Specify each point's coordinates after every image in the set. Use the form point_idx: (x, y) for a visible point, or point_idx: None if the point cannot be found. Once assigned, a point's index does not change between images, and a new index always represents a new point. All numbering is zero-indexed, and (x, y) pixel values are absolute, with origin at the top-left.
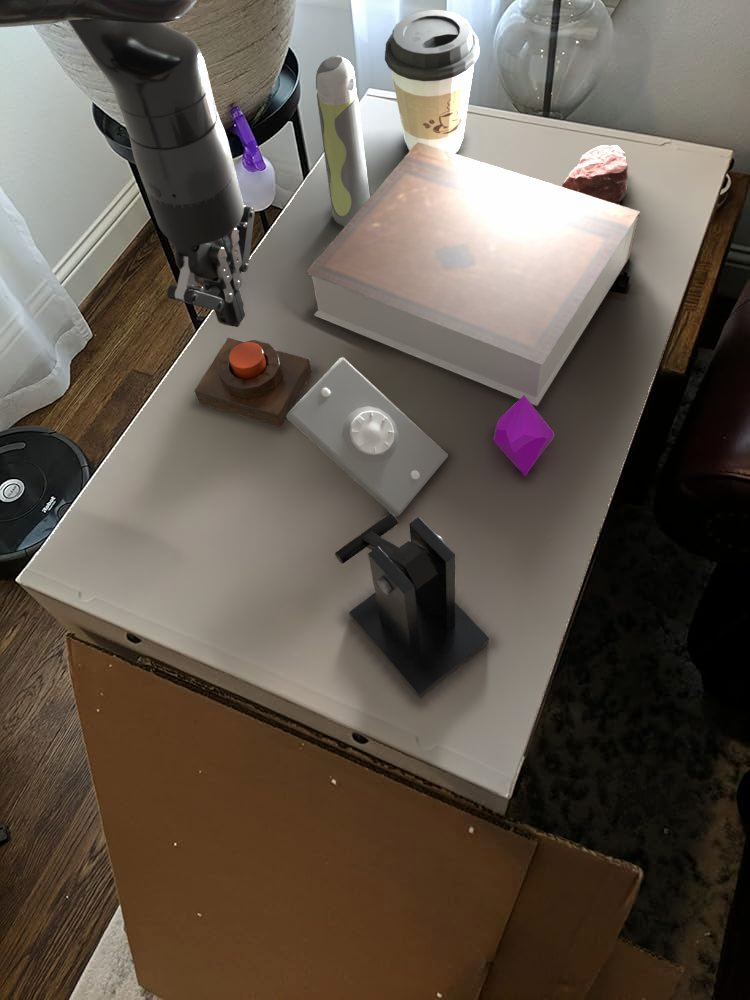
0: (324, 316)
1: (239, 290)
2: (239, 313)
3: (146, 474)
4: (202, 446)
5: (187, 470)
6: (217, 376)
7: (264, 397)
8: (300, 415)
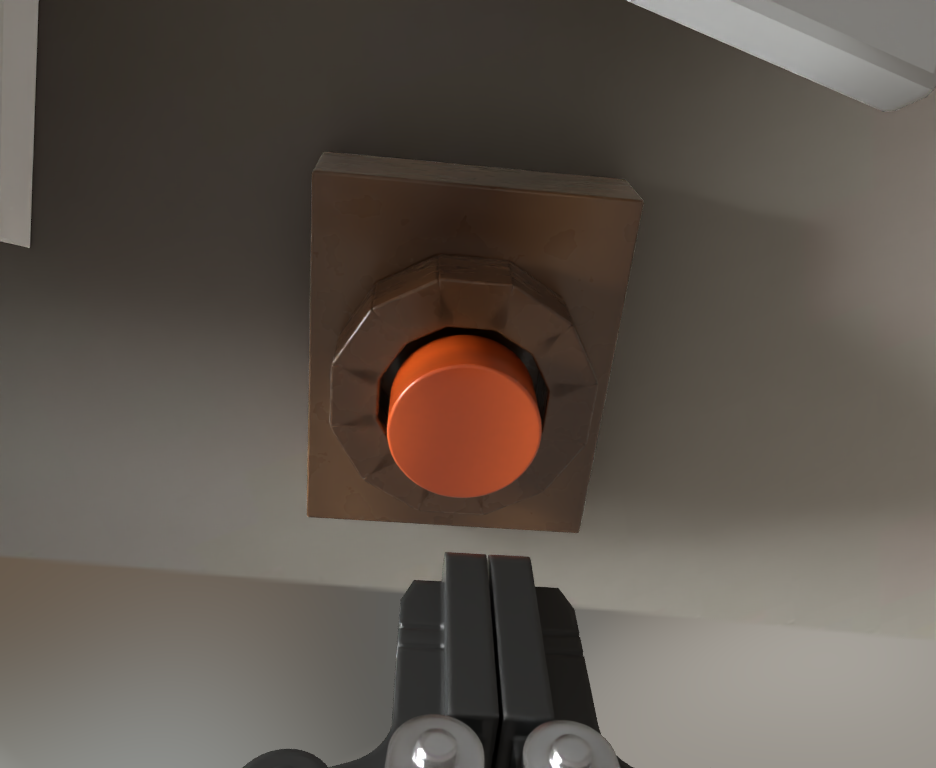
0: (17, 200)
1: (396, 688)
2: (501, 600)
3: (858, 532)
4: (739, 419)
5: (839, 428)
6: None
7: (563, 287)
8: (922, 21)
